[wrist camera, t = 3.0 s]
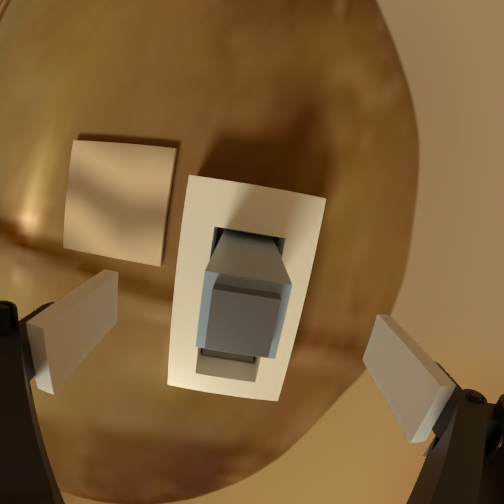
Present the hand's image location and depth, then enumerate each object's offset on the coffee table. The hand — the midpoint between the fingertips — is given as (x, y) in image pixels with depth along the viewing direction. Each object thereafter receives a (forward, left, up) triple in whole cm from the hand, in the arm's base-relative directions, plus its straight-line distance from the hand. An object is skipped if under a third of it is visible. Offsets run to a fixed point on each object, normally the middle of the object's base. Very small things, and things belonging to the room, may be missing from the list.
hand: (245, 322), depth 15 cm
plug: (0, 0, -12) cm, 12 cm away
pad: (-3, -12, -12) cm, 18 cm away
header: (+3, 0, -12) cm, 13 cm away
